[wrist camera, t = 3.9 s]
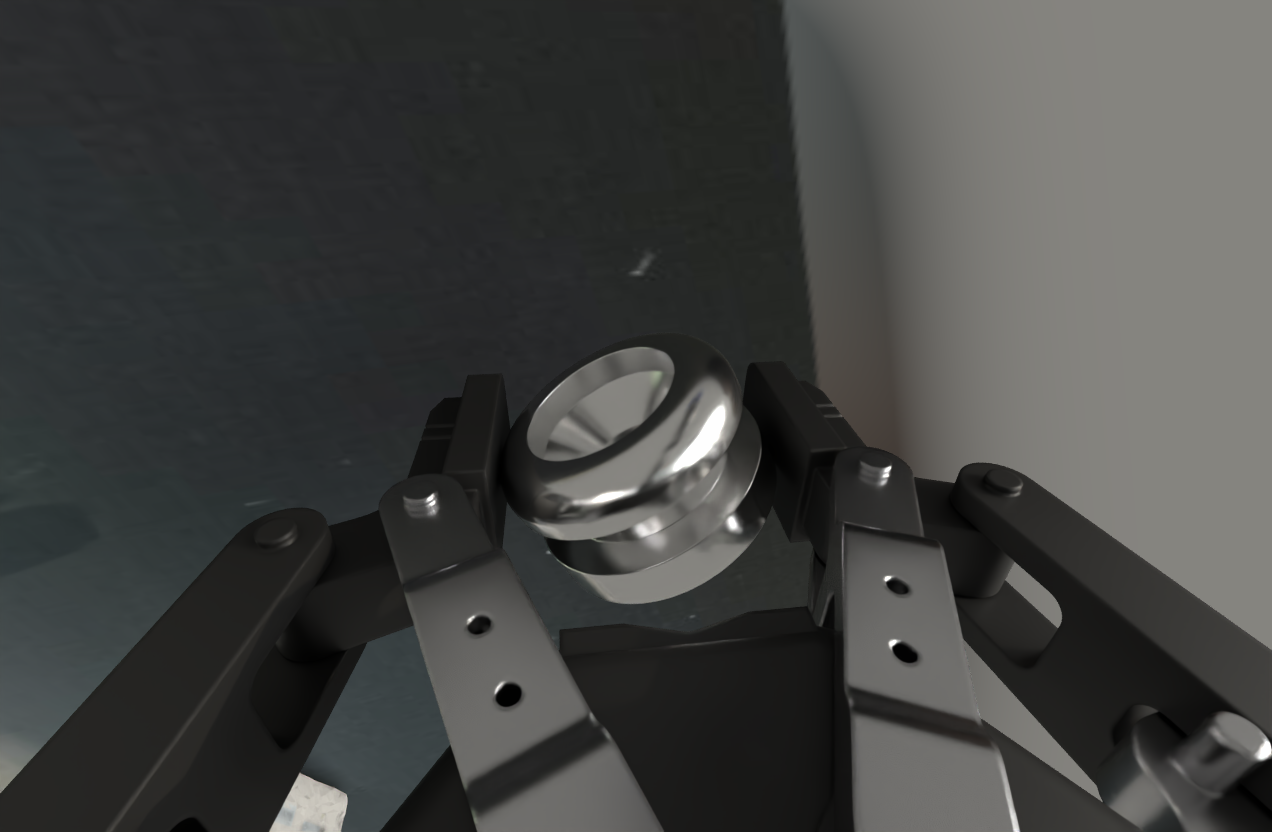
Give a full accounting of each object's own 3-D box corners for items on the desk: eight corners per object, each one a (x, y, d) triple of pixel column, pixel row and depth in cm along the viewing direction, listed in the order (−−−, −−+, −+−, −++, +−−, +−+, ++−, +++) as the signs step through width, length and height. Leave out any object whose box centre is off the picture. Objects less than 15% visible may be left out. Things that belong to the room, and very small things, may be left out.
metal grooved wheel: (562, 476, 15) (565, 644, 11) (496, 391, 13) (470, 549, 9) (738, 391, 14) (816, 536, 10) (690, 290, 12) (759, 411, 8)
